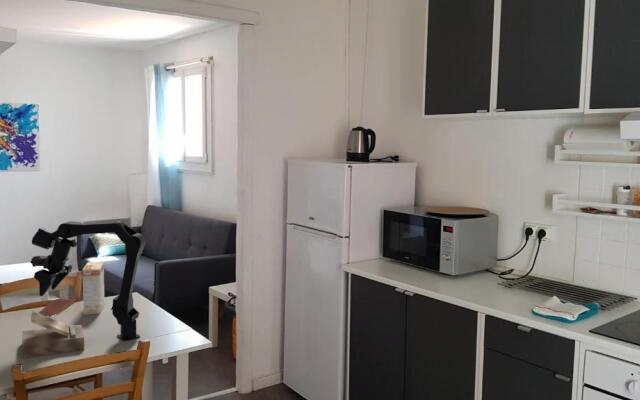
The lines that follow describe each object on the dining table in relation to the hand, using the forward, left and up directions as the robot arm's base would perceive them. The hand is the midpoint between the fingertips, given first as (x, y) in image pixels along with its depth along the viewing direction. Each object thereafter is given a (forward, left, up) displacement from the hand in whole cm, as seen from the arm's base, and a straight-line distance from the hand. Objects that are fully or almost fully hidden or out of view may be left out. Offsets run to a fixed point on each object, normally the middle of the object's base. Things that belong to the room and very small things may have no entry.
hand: (46, 292), depth 212 cm
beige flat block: (-13, +3, -17) cm, 21 cm away
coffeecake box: (+22, -27, -17) cm, 39 cm away
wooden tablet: (+34, -15, -18) cm, 41 cm away
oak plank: (-13, +4, -9) cm, 16 cm away
